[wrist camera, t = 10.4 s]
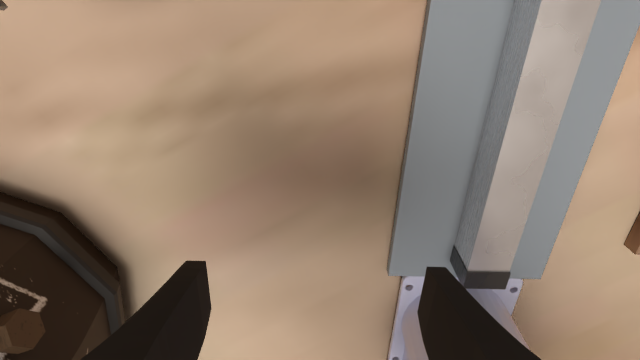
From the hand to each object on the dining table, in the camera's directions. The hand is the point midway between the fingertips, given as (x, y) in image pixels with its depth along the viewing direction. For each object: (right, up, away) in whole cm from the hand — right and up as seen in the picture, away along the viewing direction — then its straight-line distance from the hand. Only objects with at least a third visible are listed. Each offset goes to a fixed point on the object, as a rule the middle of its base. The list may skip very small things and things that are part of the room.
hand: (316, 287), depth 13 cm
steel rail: (+10, +9, +7) cm, 15 cm away
